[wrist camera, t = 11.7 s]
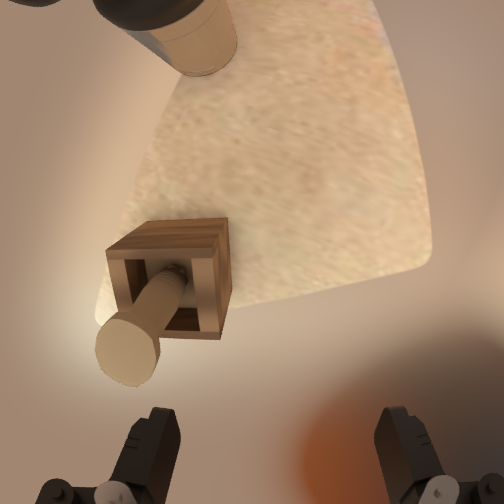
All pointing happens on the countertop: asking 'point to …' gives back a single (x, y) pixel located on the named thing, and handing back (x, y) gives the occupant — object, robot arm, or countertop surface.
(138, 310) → the handle
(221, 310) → the wooden box
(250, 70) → the countertop surface
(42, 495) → the robot arm
